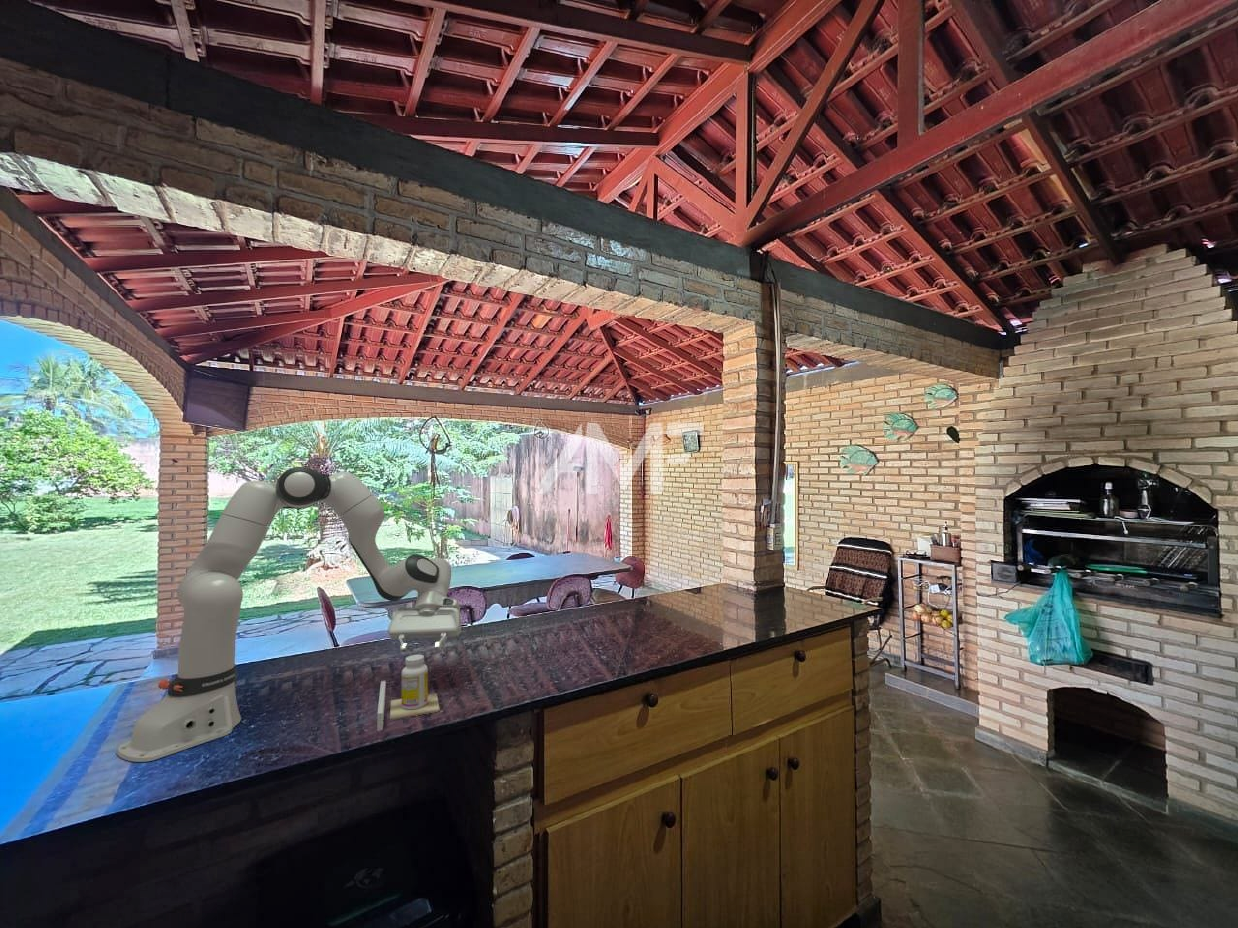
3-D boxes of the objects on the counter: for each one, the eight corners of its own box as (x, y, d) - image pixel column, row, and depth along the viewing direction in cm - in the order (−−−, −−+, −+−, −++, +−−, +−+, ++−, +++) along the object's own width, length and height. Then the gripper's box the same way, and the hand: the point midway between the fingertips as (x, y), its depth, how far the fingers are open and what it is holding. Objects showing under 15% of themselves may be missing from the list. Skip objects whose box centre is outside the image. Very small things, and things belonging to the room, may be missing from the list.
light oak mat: (439, 712, 130) (439, 709, 130) (390, 721, 125) (390, 718, 125) (436, 694, 141) (436, 692, 141) (390, 702, 136) (391, 700, 136)
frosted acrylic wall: (382, 731, 120) (382, 712, 120) (377, 732, 119) (377, 713, 119) (385, 696, 140) (385, 680, 140) (380, 697, 139) (381, 681, 139)
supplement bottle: (419, 697, 137) (420, 651, 138) (432, 704, 133) (432, 656, 134) (396, 705, 132) (397, 657, 133) (408, 712, 128) (409, 663, 129)
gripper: (392, 602, 145) (379, 646, 135) (462, 600, 147) (455, 643, 137) (396, 613, 149) (384, 657, 139) (465, 611, 152) (458, 653, 141)
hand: (420, 650), depth 138 cm, fingers open, 8 cm apart
